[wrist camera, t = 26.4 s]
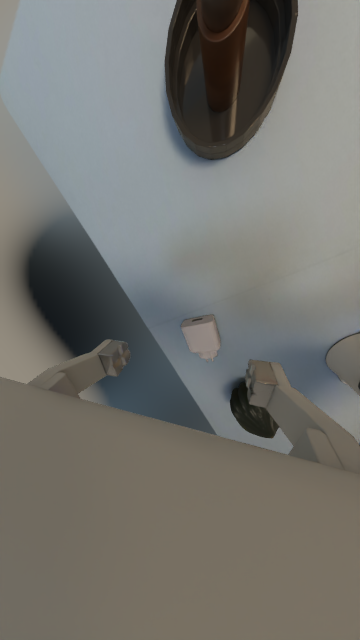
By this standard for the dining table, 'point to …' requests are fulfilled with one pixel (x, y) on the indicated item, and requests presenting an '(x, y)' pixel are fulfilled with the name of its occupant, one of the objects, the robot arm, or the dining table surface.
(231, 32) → the pepper mill
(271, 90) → the pan
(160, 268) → the dining table surface
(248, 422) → the squash
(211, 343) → the charger
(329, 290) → the dining table surface
